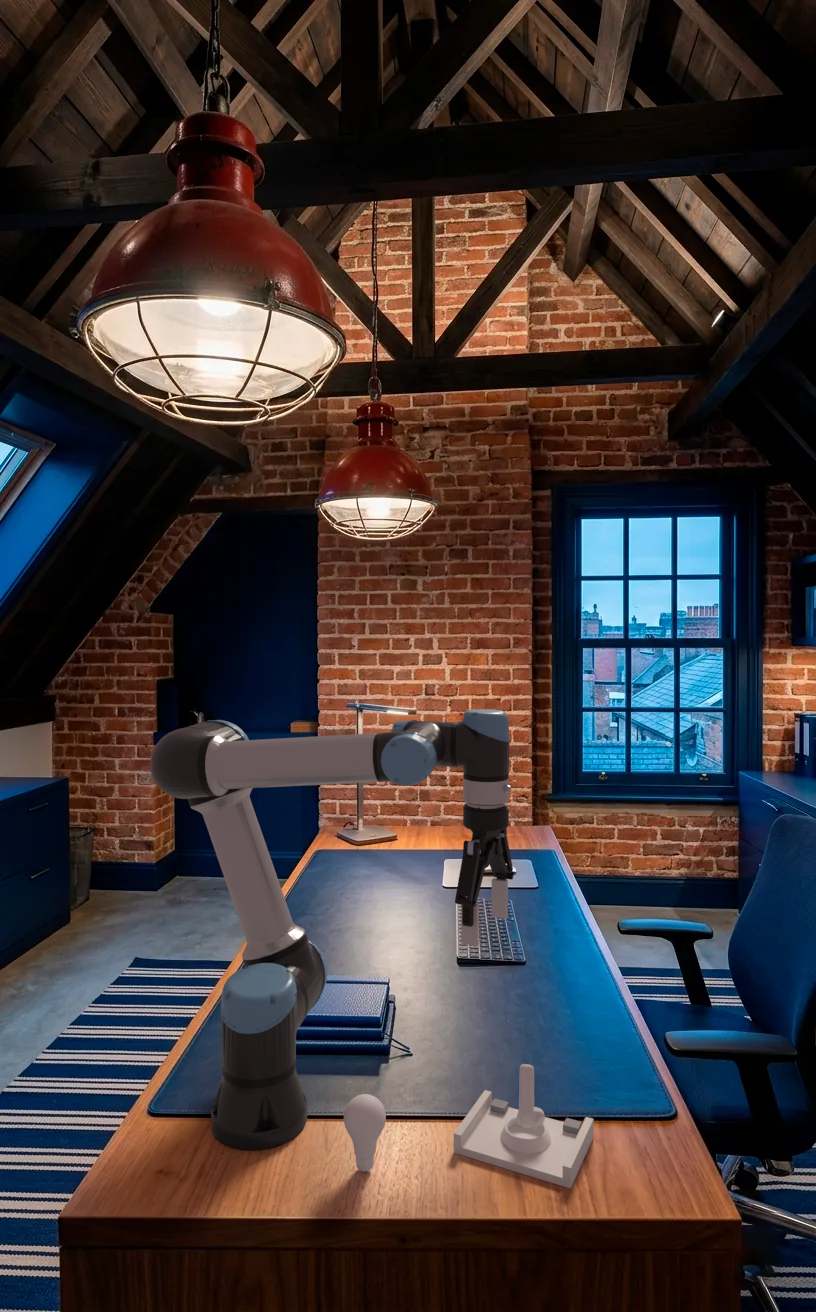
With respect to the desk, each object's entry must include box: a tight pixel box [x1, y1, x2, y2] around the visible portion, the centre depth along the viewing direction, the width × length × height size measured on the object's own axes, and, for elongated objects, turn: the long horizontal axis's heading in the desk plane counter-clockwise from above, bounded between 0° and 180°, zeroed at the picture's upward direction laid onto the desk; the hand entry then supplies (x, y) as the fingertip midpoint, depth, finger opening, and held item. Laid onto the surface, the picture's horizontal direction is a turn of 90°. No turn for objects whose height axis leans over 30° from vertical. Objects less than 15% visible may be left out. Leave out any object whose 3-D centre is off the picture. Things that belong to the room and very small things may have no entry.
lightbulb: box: [343, 1093, 387, 1173], centre depth 123 cm, size 6×6×11 cm
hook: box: [500, 1063, 551, 1154], centre depth 131 cm, size 8×12×7 cm
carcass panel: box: [453, 1089, 595, 1189], centre depth 129 cm, size 18×13×3 cm
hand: (485, 930), depth 140 cm, fingers open, 13 cm apart
